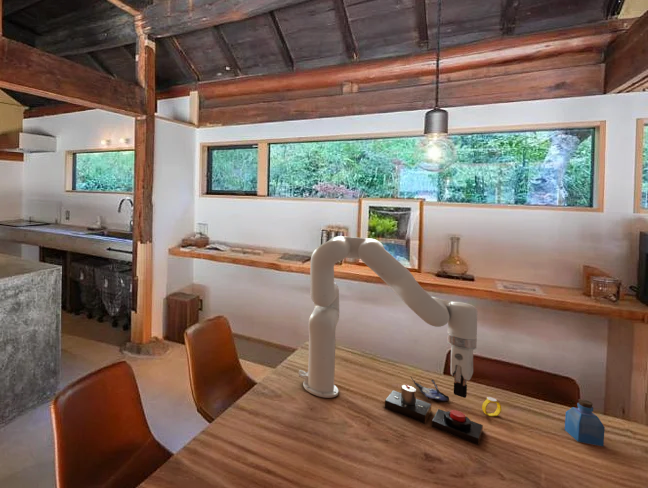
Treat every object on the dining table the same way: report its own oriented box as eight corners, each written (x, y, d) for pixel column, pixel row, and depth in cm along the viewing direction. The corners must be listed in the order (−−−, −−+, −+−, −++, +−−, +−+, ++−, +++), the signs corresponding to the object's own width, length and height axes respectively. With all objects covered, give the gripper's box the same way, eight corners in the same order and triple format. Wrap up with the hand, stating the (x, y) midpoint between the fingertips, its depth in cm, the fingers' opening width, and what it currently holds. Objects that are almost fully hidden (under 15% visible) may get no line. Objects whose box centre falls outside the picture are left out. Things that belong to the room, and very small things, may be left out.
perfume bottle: (588, 434, 128) (590, 398, 128) (603, 446, 123) (605, 409, 122) (564, 429, 130) (566, 394, 130) (577, 441, 125) (580, 405, 124)
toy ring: (495, 413, 139) (496, 396, 139) (503, 417, 136) (504, 401, 136) (479, 413, 139) (480, 396, 139) (486, 418, 136) (487, 401, 136)
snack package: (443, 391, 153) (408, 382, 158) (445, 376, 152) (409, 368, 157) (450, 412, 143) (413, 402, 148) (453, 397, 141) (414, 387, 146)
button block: (431, 426, 131) (432, 415, 130) (438, 414, 137) (438, 403, 137) (478, 445, 122) (478, 432, 122) (482, 431, 129) (483, 419, 129)
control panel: (384, 408, 141) (385, 399, 141) (392, 397, 148) (393, 389, 147) (424, 424, 132) (425, 414, 132) (431, 412, 139) (431, 403, 139)
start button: (448, 418, 130) (449, 413, 130) (451, 413, 132) (451, 408, 132) (464, 424, 127) (464, 418, 127) (466, 418, 129) (466, 413, 129)
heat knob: (417, 406, 137) (418, 391, 137) (403, 404, 138) (403, 389, 138) (412, 399, 141) (413, 385, 141) (399, 397, 142) (399, 383, 142)
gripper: (473, 351, 121) (471, 409, 121) (479, 338, 131) (477, 391, 132) (443, 343, 126) (441, 399, 127) (451, 331, 136) (450, 383, 137)
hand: (460, 395), depth 129 cm, fingers closed
